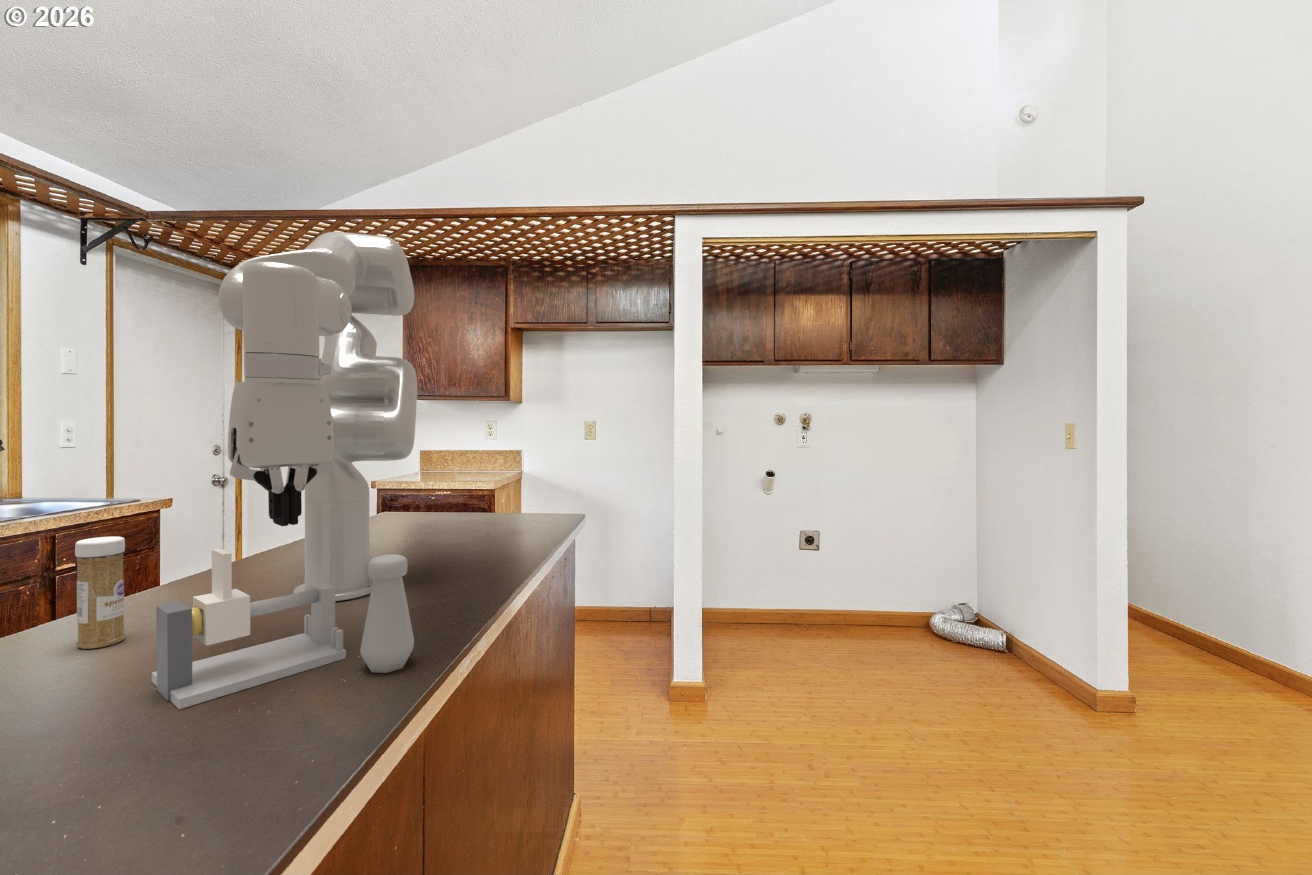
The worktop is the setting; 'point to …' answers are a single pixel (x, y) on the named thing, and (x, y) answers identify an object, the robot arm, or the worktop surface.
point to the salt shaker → (387, 616)
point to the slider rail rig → (247, 665)
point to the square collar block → (223, 604)
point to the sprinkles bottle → (100, 591)
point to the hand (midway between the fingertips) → (285, 523)
